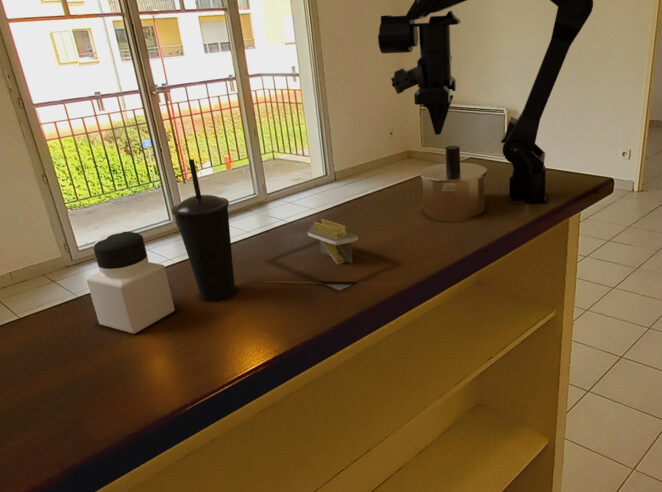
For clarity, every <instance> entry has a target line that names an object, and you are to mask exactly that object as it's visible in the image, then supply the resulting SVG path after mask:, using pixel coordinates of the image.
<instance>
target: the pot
mask: <svg viewBox="0 0 662 492" xmlns="http://www.w3.org/2000/svg"><path fill="white" fill-rule="evenodd" d="M421 181H422V198H423V212H424V213H425V214H426V215H427V216H429V217H432V218H436V219H442V220H460V219H466V218H472V217H475V216H478V215H480V214H481V213H484V212H485V206H486V205H485V202H486V201H485V176H484V177H482V178H479V179H476V180H472V181H467V182H458V183H440V182H432V181H428V180H425V179H423V178H421Z"/></svg>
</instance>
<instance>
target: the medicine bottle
mask: <svg viewBox="0 0 662 492" xmlns="http://www.w3.org/2000/svg"><path fill="white" fill-rule="evenodd" d="M92 248H93V252H94V255H95V259H96V263H97V266H98V272H96V273H93V274H92V275H89V276H87V277H86V283H87V286H88V290H89V293H90V296H91V300H92V304H93V307H94V310H95V314H96V318H97V321H98V324H99V325H101V326H104V327H107V328H111V329H115V330H118V331H122V332H125V333H130V334H132V335H134V334H137V333H139V332H140V331H143V330H144V329H146V328H147V327H149V326H151V325H153V324H155V323H156V322H158V321H160V320H162V319H164V318H166V317H167V316H169V315H170V314H172V313H174V312H175V310H176V309H175V304H174V299H173V295H172V291H171V287H170V283H169V277H168V274H167V270H166V266H165V265H164V264H161V263H156V262H152V261H151V262H150V261H149V257H148V253H147V249H146V245H145V241H144V236H143V235H142V234H140V233H138V232H133V231H119V232H113V233H110V234H107V235H104V236H102V237H100V238H99V239H97V240H96V241H95V242H94V243H93V246H92Z"/></svg>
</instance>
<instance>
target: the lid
mask: <svg viewBox="0 0 662 492" xmlns="http://www.w3.org/2000/svg"><path fill="white" fill-rule="evenodd" d="M487 173H488V169H487V168H486V167H485V166H483V165H481V164H477V163H472V162H471V163H470V162H461V147H460V146H459V145H448V146H446V147H445V162H444V163H438V164H433V165H430V166H427V167H425V168H423V169H421V170H420V172H419V176H420V178H421V179H422V178H423V179H425V180H428V181H432V182H440V183H458V182H467V181H472V180H476V179H479V178H482V177H484V178H485V176H486V175H487Z"/></svg>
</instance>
